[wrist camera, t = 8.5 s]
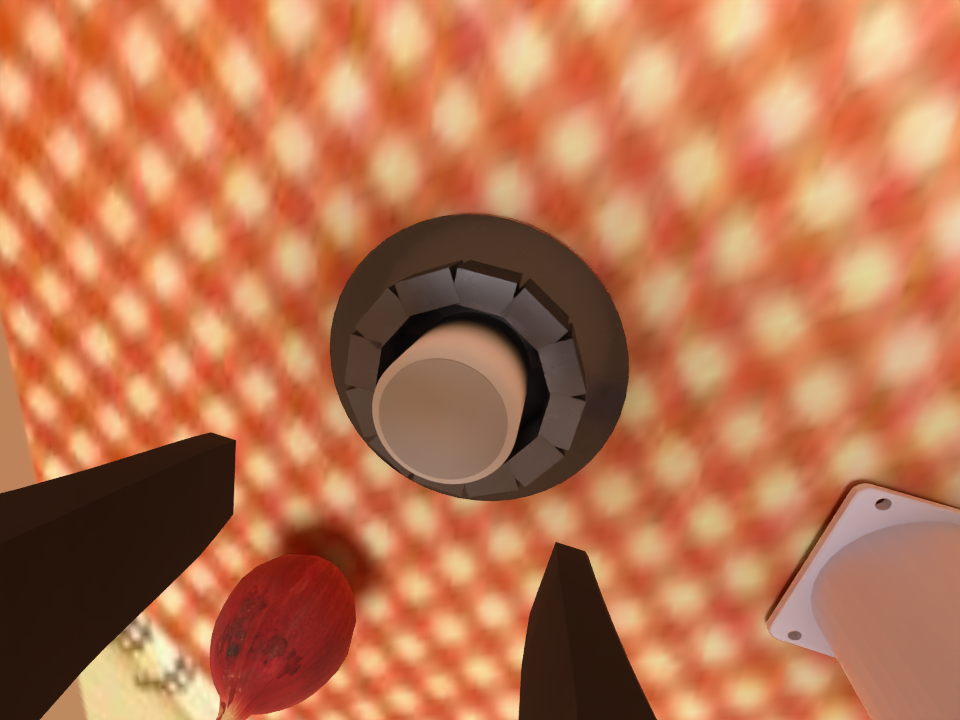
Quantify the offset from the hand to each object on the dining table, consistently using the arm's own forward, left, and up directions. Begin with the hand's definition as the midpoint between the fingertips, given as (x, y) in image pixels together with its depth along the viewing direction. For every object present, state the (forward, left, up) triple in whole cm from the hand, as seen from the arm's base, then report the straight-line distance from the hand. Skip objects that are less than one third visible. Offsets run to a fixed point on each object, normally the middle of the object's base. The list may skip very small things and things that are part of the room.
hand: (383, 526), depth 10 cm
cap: (0, 0, -9) cm, 9 cm away
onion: (+5, +13, -10) cm, 17 cm away
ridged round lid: (0, 0, -10) cm, 10 cm away
